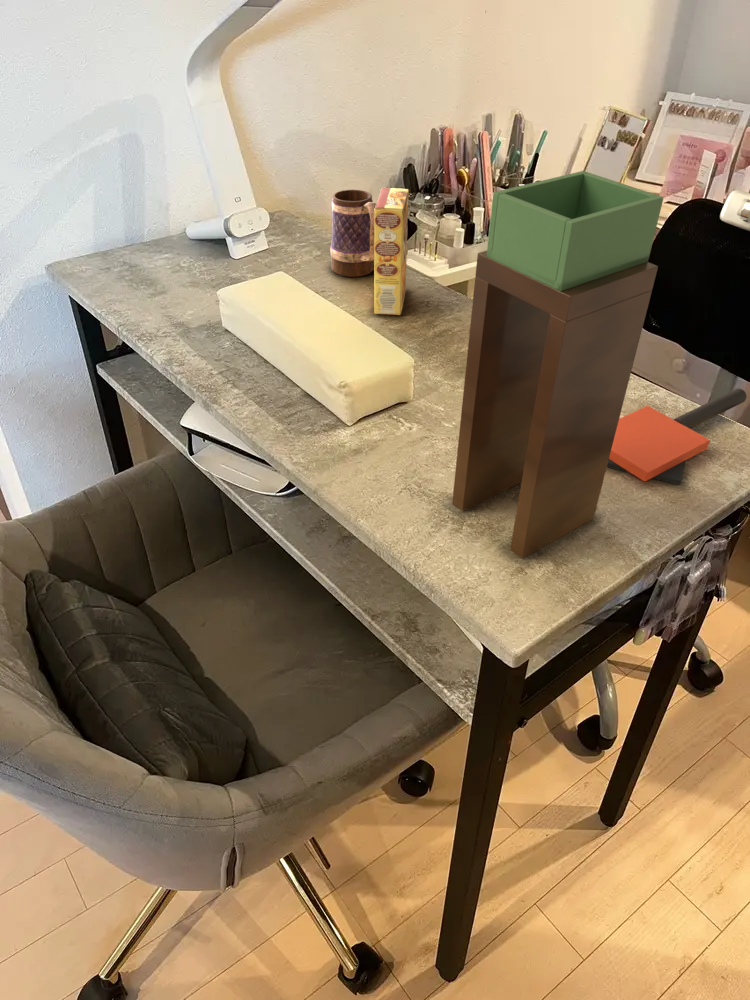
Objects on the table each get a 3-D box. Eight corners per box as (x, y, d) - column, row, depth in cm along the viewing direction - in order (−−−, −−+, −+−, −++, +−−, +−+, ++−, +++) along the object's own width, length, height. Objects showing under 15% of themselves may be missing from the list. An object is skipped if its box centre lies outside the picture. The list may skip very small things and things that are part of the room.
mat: (689, 441, 87) (690, 436, 87) (679, 485, 81) (681, 480, 80) (600, 420, 90) (601, 416, 90) (584, 461, 84) (585, 457, 83)
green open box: (572, 231, 66) (583, 170, 62) (648, 261, 61) (664, 196, 57) (485, 256, 61) (492, 192, 58) (560, 291, 56) (572, 222, 53)
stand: (522, 469, 83) (563, 228, 66) (593, 518, 76) (658, 266, 60) (451, 503, 78) (477, 252, 62) (521, 558, 72) (570, 296, 55)
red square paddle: (707, 386, 96) (711, 374, 95) (769, 418, 91) (774, 404, 90) (582, 445, 86) (585, 431, 85) (644, 484, 80) (648, 470, 79)
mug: (323, 265, 125) (321, 189, 117) (361, 257, 128) (361, 183, 120) (353, 288, 118) (353, 209, 110) (392, 280, 121) (395, 202, 113)
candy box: (401, 316, 111) (405, 208, 101) (372, 314, 111) (373, 207, 101) (406, 291, 118) (410, 188, 108) (378, 289, 118) (380, 186, 108)
